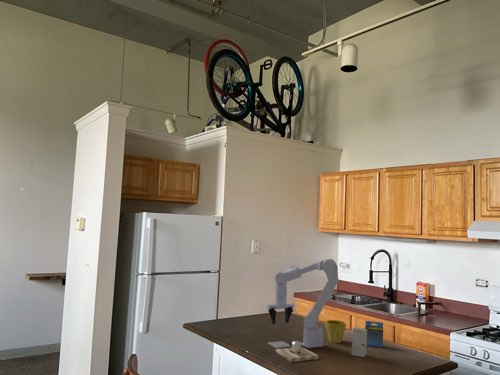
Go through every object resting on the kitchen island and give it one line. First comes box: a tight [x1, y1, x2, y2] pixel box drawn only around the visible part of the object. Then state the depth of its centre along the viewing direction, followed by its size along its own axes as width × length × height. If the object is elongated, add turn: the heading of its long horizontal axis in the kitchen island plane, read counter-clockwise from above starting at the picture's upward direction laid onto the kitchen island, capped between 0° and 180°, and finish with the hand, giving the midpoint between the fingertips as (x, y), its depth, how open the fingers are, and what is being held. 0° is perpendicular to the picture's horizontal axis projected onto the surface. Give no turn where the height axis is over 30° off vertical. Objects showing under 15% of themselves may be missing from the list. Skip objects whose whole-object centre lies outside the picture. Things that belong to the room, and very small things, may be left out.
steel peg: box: [291, 340, 302, 355], centre depth 190 cm, size 4×4×6 cm
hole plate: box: [275, 346, 319, 363], centre depth 190 cm, size 14×14×2 cm
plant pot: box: [325, 319, 347, 344], centre depth 217 cm, size 10×10×10 cm
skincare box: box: [351, 326, 367, 358], centre depth 195 cm, size 6×4×12 cm
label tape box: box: [364, 320, 384, 348], centre depth 212 cm, size 9×4×12 cm, turn 74°
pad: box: [267, 340, 291, 349], centre depth 206 cm, size 9×9×1 cm
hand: (280, 323), depth 212 cm, fingers open, 7 cm apart
